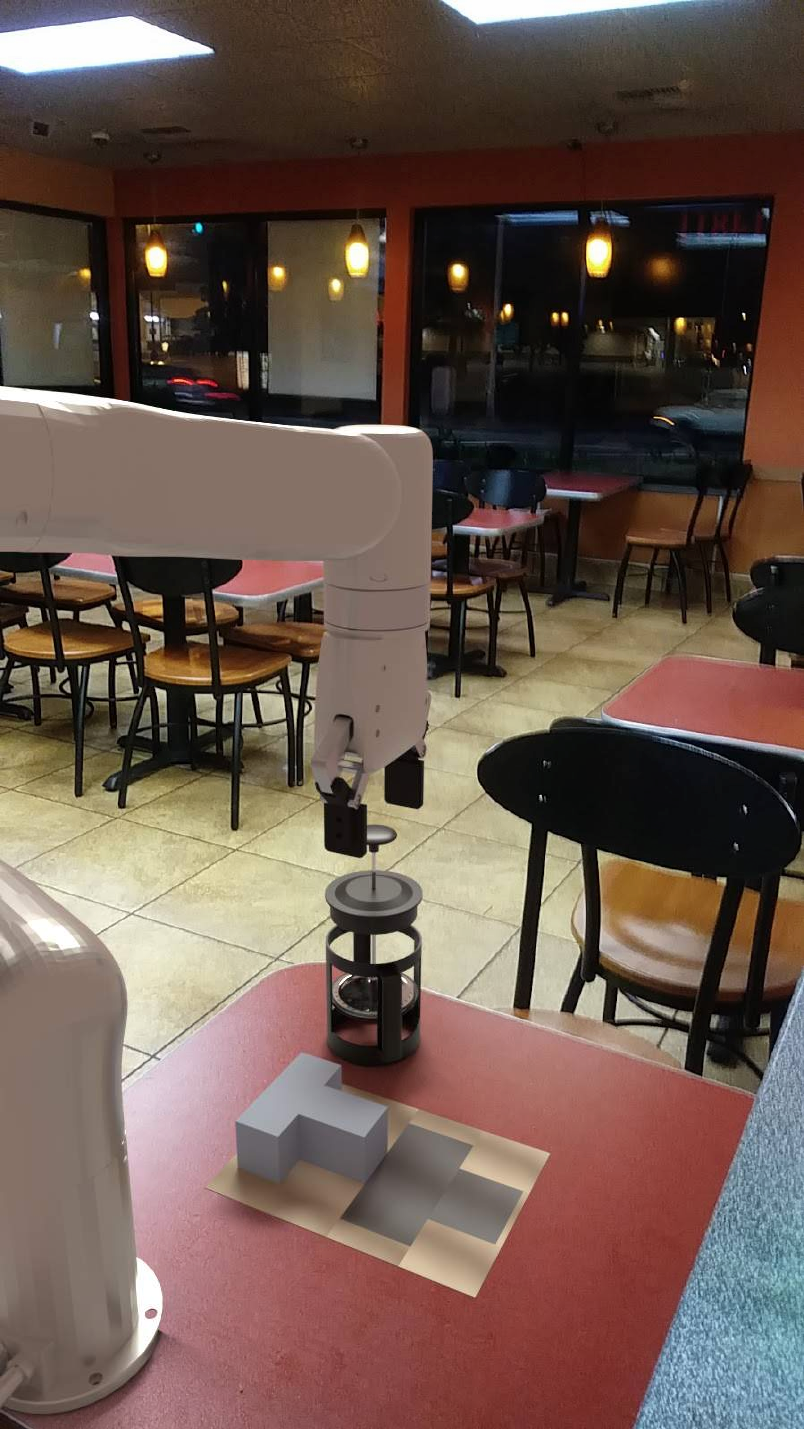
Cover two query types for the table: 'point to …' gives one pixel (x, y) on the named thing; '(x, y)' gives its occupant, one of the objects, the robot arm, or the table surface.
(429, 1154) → the board
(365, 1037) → the table surface
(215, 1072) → the table surface
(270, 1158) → the t block
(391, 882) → the french press
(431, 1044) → the table surface
